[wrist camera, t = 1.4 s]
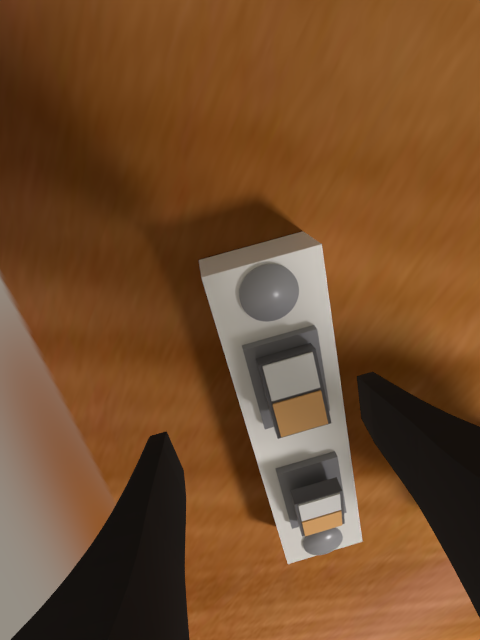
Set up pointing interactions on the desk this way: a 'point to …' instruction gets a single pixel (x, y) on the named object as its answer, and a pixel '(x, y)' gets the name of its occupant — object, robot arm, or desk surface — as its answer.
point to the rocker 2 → (319, 506)
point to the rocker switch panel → (275, 336)
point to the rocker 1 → (294, 390)
